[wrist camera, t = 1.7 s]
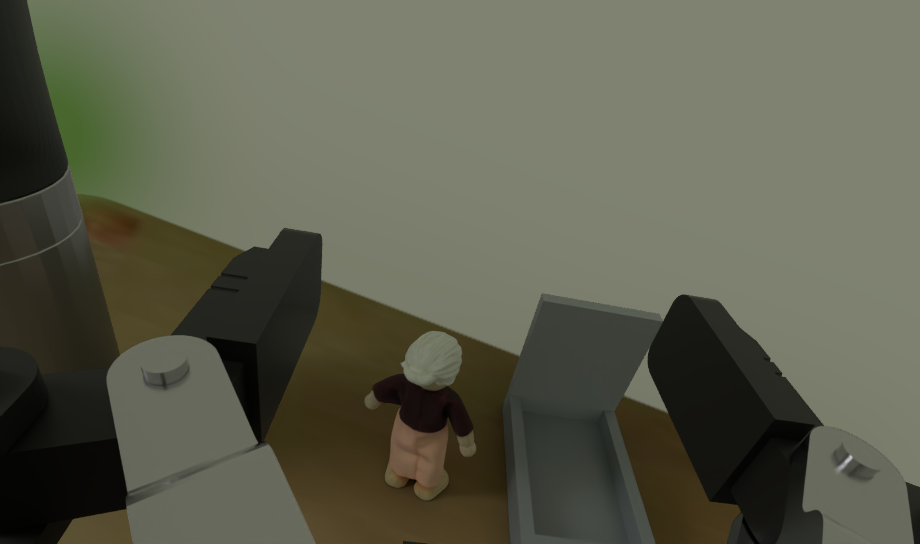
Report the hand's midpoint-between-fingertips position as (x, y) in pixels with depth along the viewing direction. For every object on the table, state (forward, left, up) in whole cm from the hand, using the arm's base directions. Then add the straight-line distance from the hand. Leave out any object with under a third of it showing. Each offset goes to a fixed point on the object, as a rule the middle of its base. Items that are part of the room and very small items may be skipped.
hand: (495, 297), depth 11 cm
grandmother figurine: (0, +12, -24) cm, 27 cm away
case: (+11, +13, -24) cm, 30 cm away
